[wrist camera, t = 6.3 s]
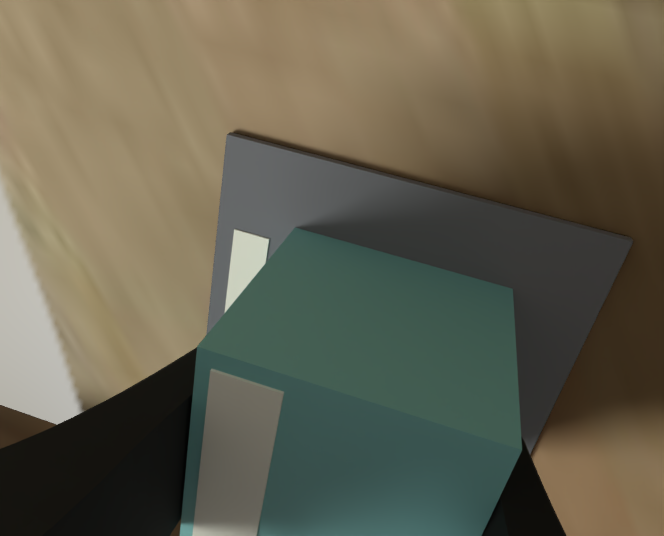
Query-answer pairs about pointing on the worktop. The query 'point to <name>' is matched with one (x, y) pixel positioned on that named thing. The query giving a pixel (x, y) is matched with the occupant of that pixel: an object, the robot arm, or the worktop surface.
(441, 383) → the cube
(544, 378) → the mat
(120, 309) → the worktop surface
